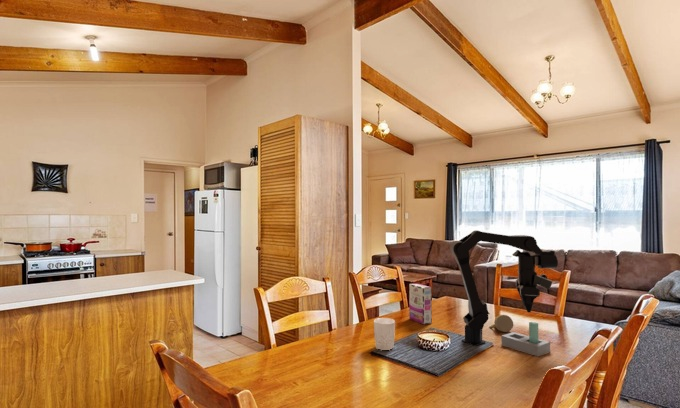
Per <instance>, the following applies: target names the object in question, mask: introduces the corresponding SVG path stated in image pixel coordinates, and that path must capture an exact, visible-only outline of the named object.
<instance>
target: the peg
mask: <svg viewBox="0 0 680 408" xmlns="http://www.w3.org/2000/svg"><path fill="white" fill-rule="evenodd" d="M528 336H529V342H531V343H534V344H538V343H539V339H540V338H539V323H538V322H535V321H534V322H533V321H531V322H528Z"/></svg>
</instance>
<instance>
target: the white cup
mask: <svg viewBox="0 0 680 408" xmlns="http://www.w3.org/2000/svg"><path fill="white" fill-rule="evenodd" d="M395 320H396V319H393V318H389V317H380V318H379V317H377V318H375V319H374V320H373V330H374V331H373V333H374V341H375V342H374V344H375V345H374V346H375V349H376V350H378V349H381V350H380V351H382V350H389V351H391V350H390V349H392V348H393V349H394V346H395V345H394V344H395V336H396V335H395V333H396V329H395V328H396V321H395ZM393 349H392V350H393Z"/></svg>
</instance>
